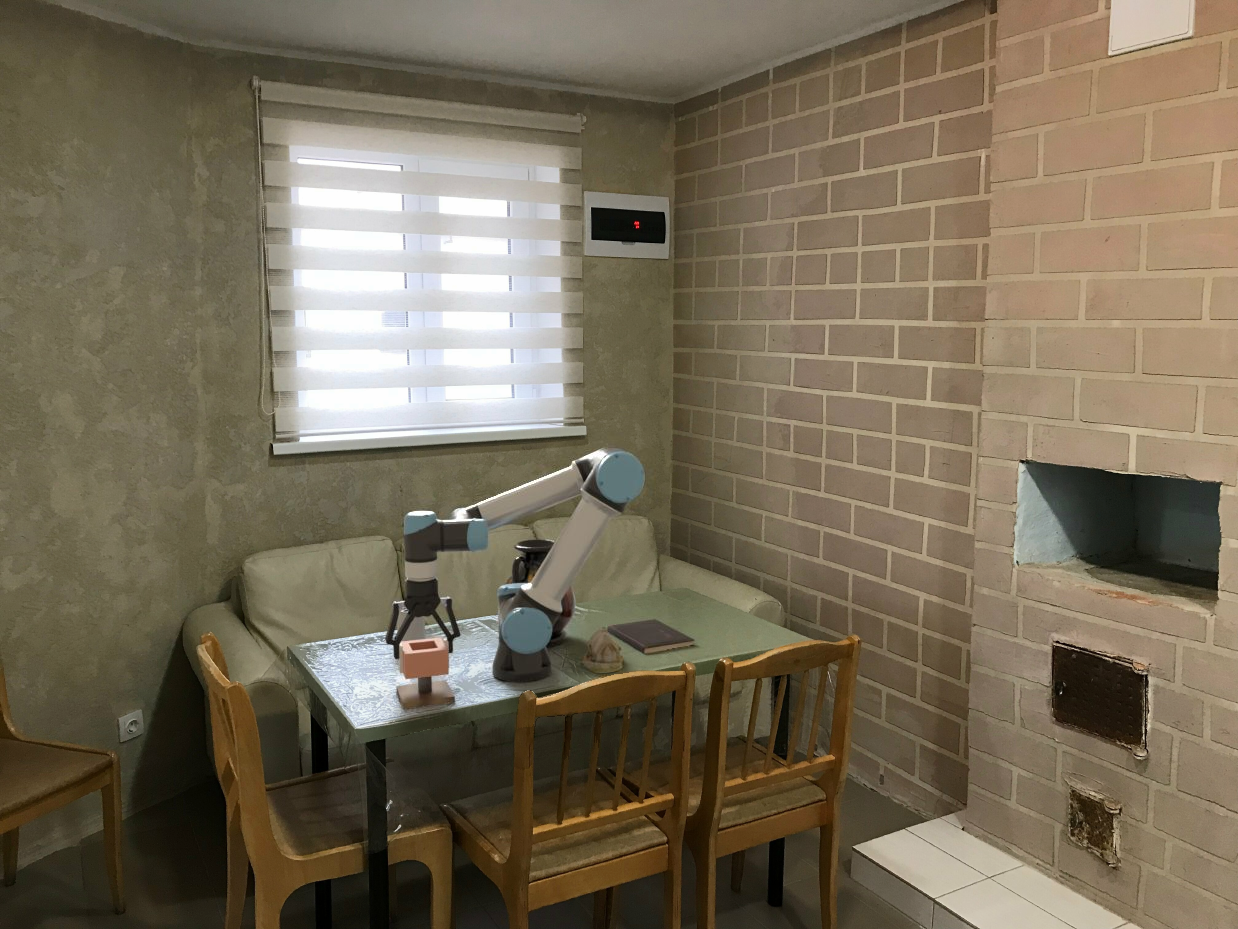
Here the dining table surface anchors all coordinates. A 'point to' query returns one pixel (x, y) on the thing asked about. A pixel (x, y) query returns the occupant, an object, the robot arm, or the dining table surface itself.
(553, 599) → the robot arm
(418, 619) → the can
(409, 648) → the collar
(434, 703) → the post stand
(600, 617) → the dining table surface
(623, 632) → the hardcover book
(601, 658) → the ceramic model
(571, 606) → the amphora vase
